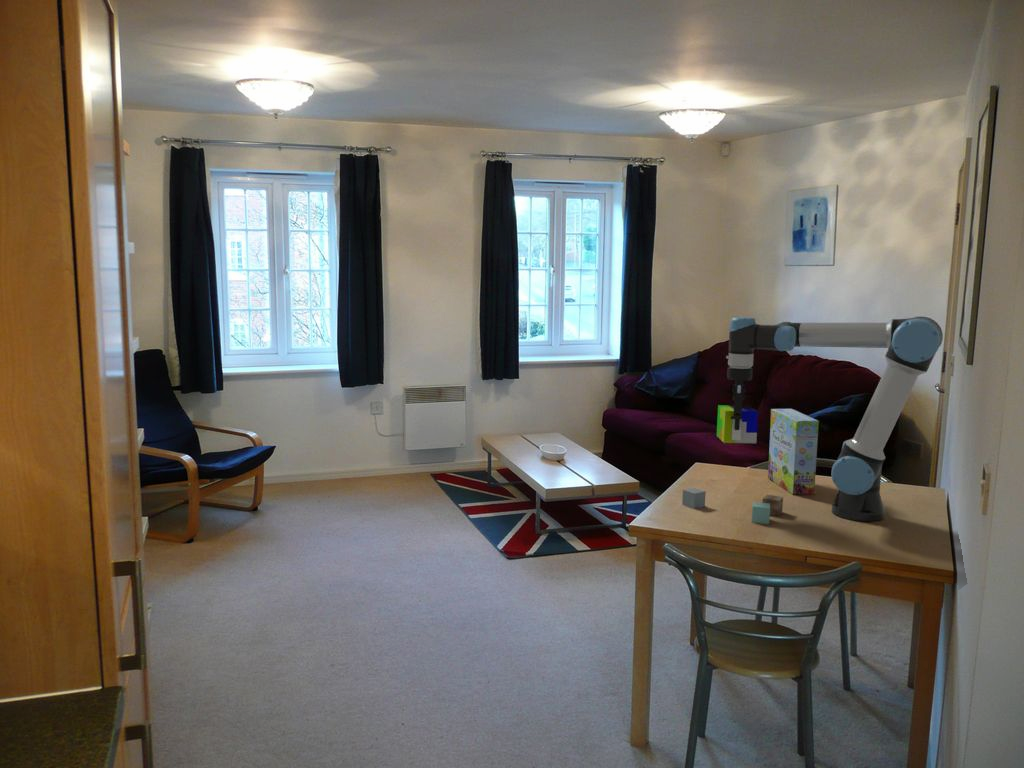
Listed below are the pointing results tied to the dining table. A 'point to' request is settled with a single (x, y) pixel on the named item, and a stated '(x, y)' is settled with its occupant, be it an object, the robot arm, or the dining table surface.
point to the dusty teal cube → (760, 512)
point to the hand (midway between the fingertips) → (736, 436)
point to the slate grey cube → (693, 498)
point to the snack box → (793, 451)
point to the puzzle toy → (726, 424)
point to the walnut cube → (774, 504)
